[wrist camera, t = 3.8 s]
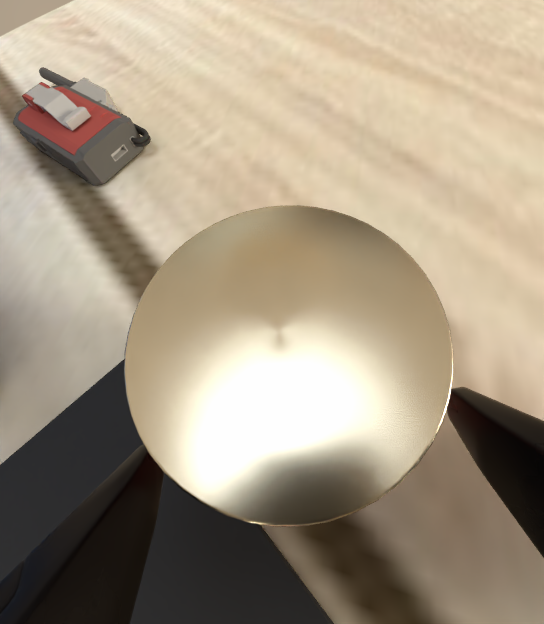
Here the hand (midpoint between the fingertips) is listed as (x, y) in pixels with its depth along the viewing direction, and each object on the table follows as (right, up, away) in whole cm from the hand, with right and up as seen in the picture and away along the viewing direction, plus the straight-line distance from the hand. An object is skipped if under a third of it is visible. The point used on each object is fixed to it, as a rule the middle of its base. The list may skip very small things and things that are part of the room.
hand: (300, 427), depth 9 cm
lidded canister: (+1, -2, +9) cm, 9 cm away
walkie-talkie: (-21, +22, +22) cm, 38 cm away
